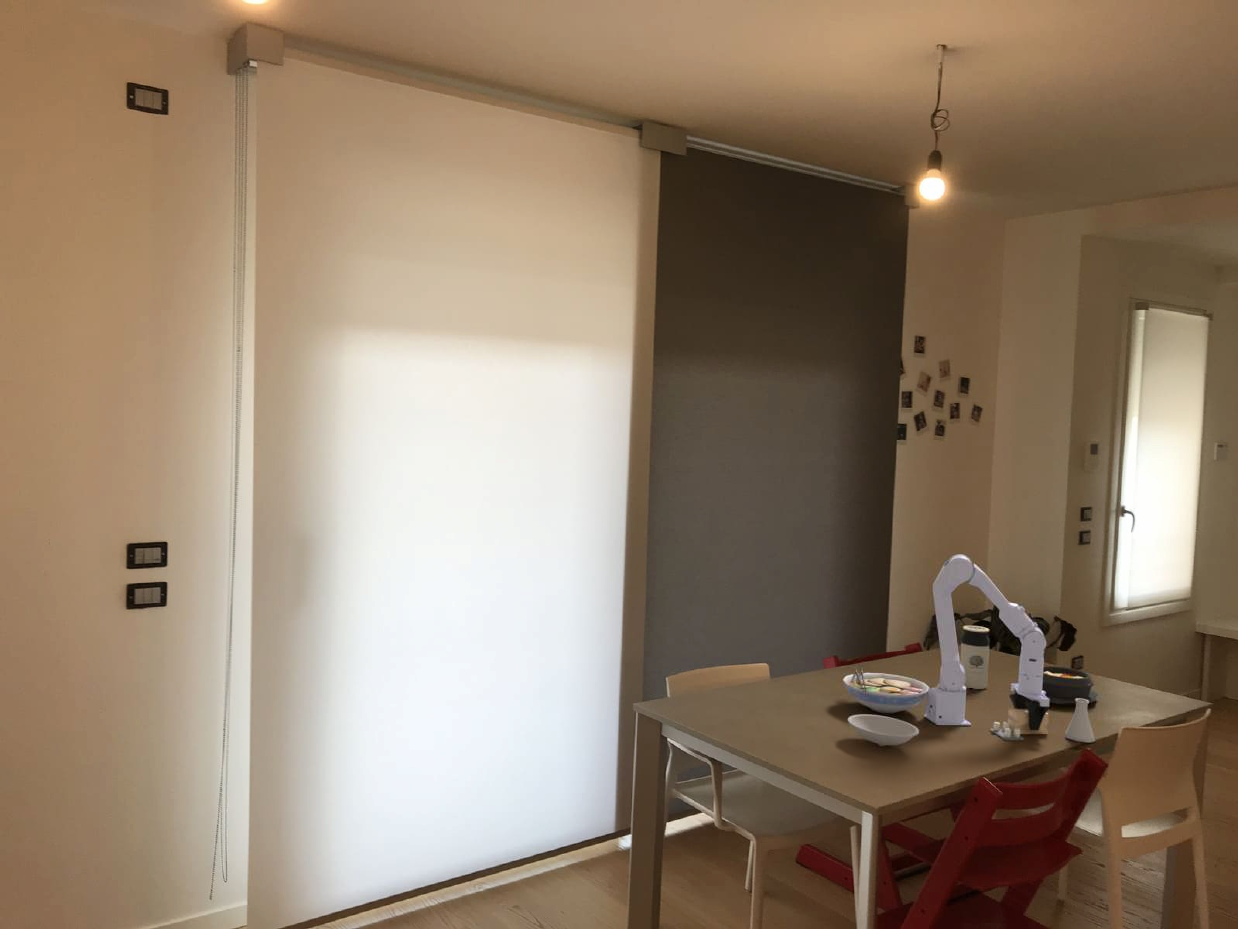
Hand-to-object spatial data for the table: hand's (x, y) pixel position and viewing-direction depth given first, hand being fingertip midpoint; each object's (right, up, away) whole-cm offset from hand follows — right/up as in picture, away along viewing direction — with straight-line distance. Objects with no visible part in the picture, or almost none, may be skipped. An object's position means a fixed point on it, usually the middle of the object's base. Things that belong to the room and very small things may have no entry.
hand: (1027, 726), depth 245 cm
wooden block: (0, -2, 0) cm, 2 cm away
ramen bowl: (-33, 0, +14) cm, 36 cm away
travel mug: (+2, 0, +44) cm, 44 cm away
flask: (+12, -2, -4) cm, 12 cm away
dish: (-42, 0, -16) cm, 45 cm away
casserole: (+24, -2, +33) cm, 41 cm away
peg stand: (-7, -1, -4) cm, 8 cm away
